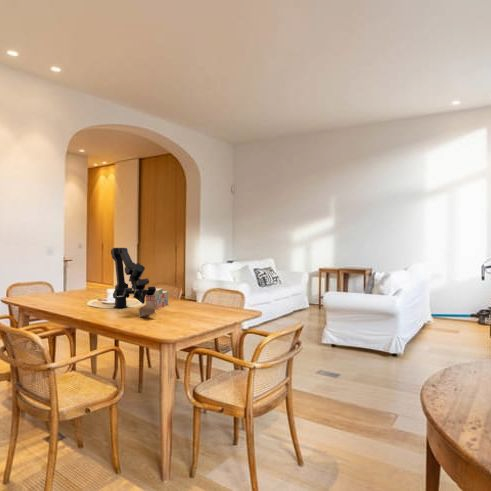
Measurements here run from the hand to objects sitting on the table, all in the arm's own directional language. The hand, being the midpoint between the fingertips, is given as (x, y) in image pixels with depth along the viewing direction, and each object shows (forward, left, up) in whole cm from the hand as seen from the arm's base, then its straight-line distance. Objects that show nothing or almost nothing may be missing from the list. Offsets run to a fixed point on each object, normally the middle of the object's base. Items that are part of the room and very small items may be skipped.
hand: (143, 303), depth 225 cm
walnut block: (-1, 0, -5) cm, 6 cm away
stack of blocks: (-11, +30, -8) cm, 33 cm away
